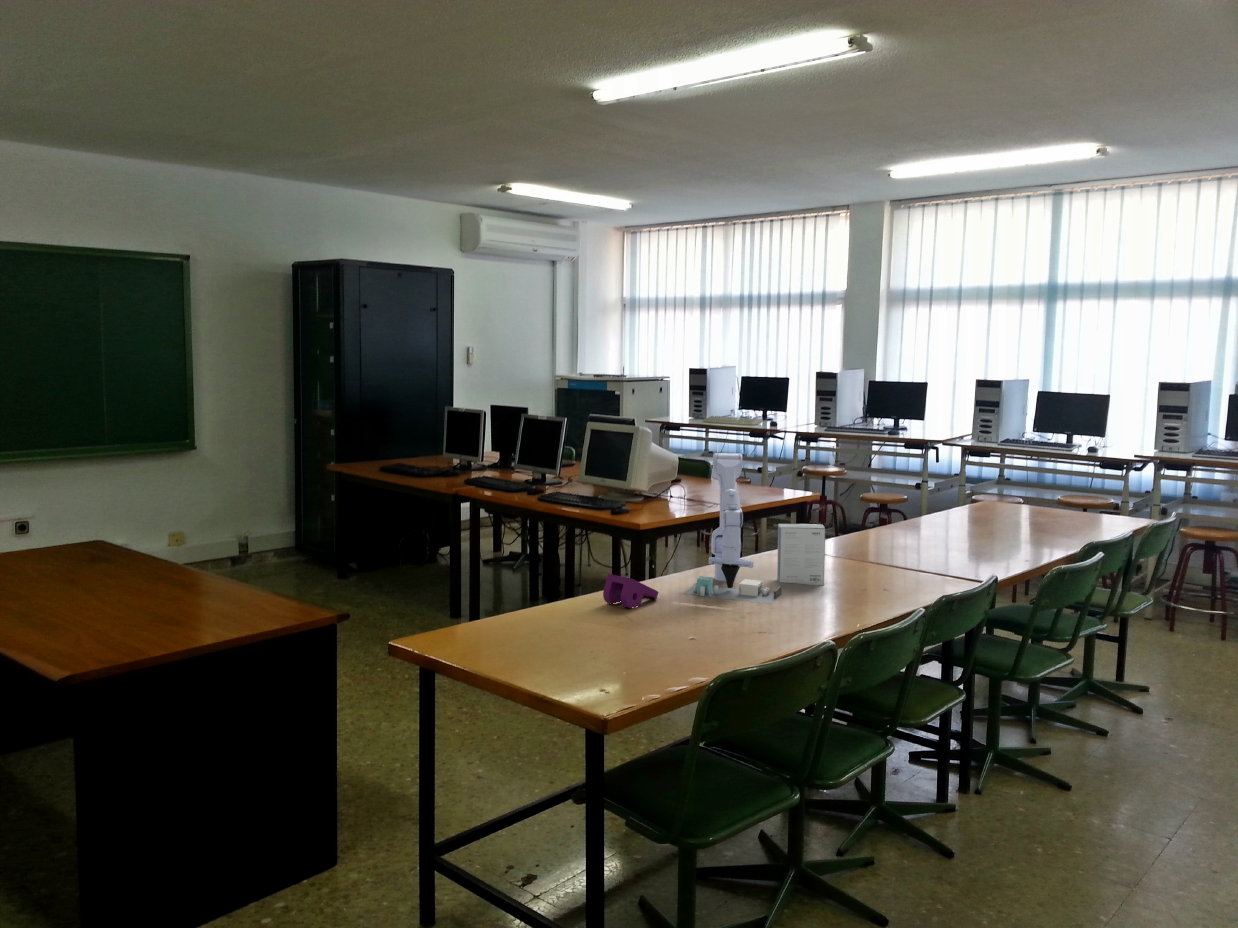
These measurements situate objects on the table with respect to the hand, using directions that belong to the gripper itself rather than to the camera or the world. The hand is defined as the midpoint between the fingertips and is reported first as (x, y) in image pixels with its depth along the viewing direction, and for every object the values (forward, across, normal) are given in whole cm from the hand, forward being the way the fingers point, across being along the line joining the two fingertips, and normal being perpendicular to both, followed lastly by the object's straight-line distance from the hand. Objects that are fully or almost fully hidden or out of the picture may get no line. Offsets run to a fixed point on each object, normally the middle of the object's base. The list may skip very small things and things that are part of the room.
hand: (730, 587), depth 305 cm
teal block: (+1, -6, -7) cm, 10 cm away
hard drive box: (+2, +18, +25) cm, 30 cm away
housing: (+1, +7, 0) cm, 7 cm away
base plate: (+2, +2, -4) cm, 4 cm away
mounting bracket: (+2, -24, -24) cm, 34 cm away
